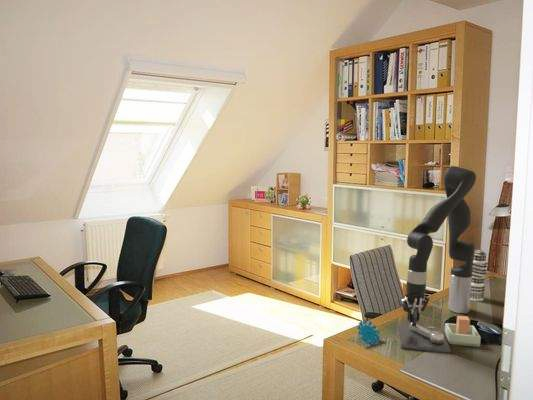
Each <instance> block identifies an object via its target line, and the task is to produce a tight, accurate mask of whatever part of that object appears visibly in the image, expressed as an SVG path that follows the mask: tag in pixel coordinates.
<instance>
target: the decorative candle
mask: <svg viewBox="0 0 533 400" xmlns="http://www.w3.org/2000/svg"><path fill="white" fill-rule="evenodd" d="M487 265H488V262H487V253H486V252H485V251H484V250H482V249H475V252H474V259H473V268H472V282H471V295H470V301H476V302H480V301H481V302H482V301H484V300H485V292H484V291H485V278H486V275H487V268H488V266H487Z"/></svg>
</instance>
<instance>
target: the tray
mask: <svg viewBox="0 0 533 400" xmlns="http://www.w3.org/2000/svg"><path fill="white" fill-rule="evenodd" d="M456 324H457V323H449V322H447V323H446V322H445V324H444V335H445V337H446V339H447V342H448V344H450V345H456V346H457V345H459V346H466V347H467V346H470V347H481V335H480V334H479V332H478V331H477V329H476V328H475V326H474V325H471V324H470V328H469V335H463V334H456Z"/></svg>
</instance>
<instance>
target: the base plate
mask: <svg viewBox="0 0 533 400" xmlns="http://www.w3.org/2000/svg"><path fill="white" fill-rule="evenodd" d="M395 325H396V326H395V327H396V333H397V337H398V343H399V347H400V349H407V350H415V351H416V350H417V351H426V352H435V353H446V354H451V351H452V350H451V348H450V345H449V342H448V339H447V337H446V335H444V342H443V343H442V344H436V343H433V342H431V341H430V338H428V337H426V336H424V335H422V334H420V333H418V332H416V331H414V330H412V329H410V328H409V324H401V323H396V324H395ZM420 326H421V327H423V328H426V329H428V330H430V331H439V332H442V333H443V334H444V331H443V330H442V328H441V327H434V326H424V325H420Z"/></svg>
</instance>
